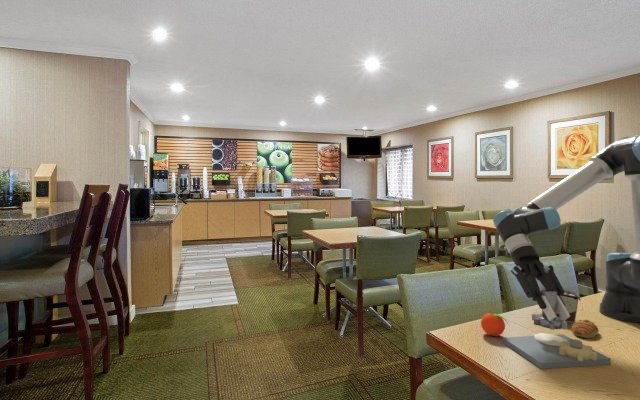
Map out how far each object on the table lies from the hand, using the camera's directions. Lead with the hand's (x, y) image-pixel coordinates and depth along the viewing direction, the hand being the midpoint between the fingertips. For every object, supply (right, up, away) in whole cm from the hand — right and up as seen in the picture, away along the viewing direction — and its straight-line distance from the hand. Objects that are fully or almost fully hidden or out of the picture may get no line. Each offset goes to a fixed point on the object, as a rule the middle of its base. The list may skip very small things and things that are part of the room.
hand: (559, 318), depth 102 cm
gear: (-1, -3, +4) cm, 5 cm away
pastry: (+17, -9, +13) cm, 23 cm away
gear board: (-2, -9, -1) cm, 10 cm away
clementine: (-13, -9, +11) cm, 20 cm away
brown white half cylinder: (+18, -9, +27) cm, 33 cm away
